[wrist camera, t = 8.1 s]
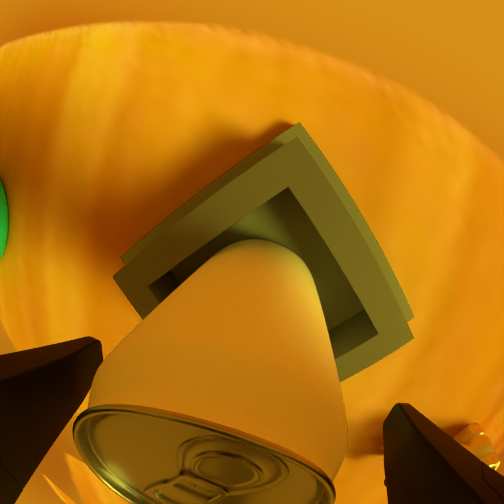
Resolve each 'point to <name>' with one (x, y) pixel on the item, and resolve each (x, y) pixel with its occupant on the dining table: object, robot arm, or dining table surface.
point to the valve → (477, 445)
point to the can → (222, 391)
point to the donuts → (3, 220)
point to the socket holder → (289, 236)
